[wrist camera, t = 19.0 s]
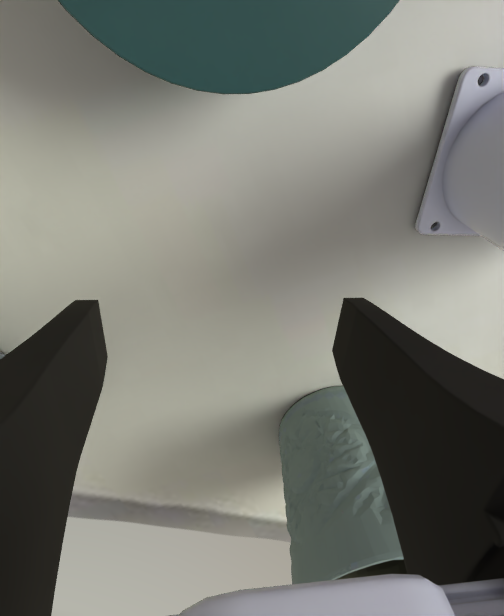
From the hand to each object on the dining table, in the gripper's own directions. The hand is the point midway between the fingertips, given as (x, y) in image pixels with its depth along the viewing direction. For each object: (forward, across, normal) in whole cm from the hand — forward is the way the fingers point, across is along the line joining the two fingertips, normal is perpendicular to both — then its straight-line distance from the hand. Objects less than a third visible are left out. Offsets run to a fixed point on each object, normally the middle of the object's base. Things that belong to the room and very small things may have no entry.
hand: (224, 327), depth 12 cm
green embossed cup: (+11, -9, +17) cm, 22 cm away
